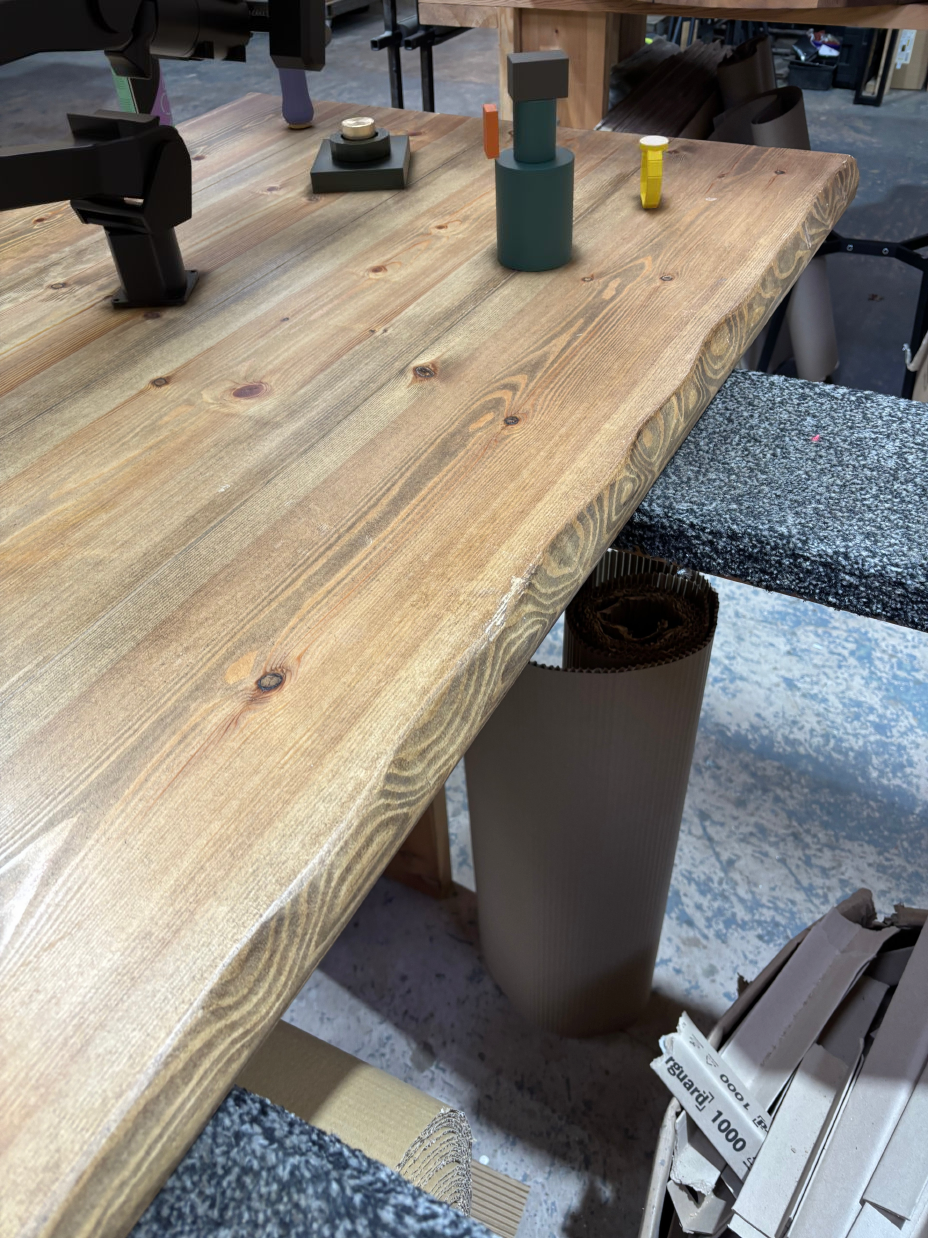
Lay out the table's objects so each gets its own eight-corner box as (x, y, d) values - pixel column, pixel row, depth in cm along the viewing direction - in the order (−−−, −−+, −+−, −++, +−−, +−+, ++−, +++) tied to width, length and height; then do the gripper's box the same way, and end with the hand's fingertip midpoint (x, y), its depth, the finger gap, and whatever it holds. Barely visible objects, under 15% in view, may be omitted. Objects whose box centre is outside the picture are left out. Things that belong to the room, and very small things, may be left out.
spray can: (175, 163, 111) (125, -40, 98) (130, 165, 111) (74, -37, 98) (186, 149, 115) (140, -48, 102) (143, 151, 115) (90, -45, 102)
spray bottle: (502, 274, 82) (497, 69, 72) (492, 245, 87) (486, 49, 76) (578, 267, 83) (585, 62, 72) (564, 238, 88) (568, 43, 77)
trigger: (487, 158, 78) (486, 111, 75) (484, 150, 80) (482, 103, 77) (499, 157, 78) (498, 110, 75) (495, 149, 80) (494, 102, 77)
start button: (374, 142, 101) (372, 125, 100) (341, 144, 101) (339, 127, 100) (377, 133, 104) (375, 115, 102) (345, 134, 104) (343, 117, 103)
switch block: (405, 189, 100) (401, 149, 98) (313, 193, 101) (306, 154, 98) (410, 154, 109) (407, 116, 106) (326, 158, 109) (320, 121, 107)
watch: (631, 193, 96) (636, 130, 92) (659, 192, 95) (664, 129, 91) (637, 214, 91) (642, 149, 87) (666, 213, 91) (672, 148, 87)
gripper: (260, -109, 69) (374, -72, 81) (78, -107, 76) (209, -73, 88) (264, 65, 74) (371, 76, 87) (95, 52, 81) (216, 63, 94)
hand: (290, 32), depth 89 cm, fingers open, 9 cm apart
